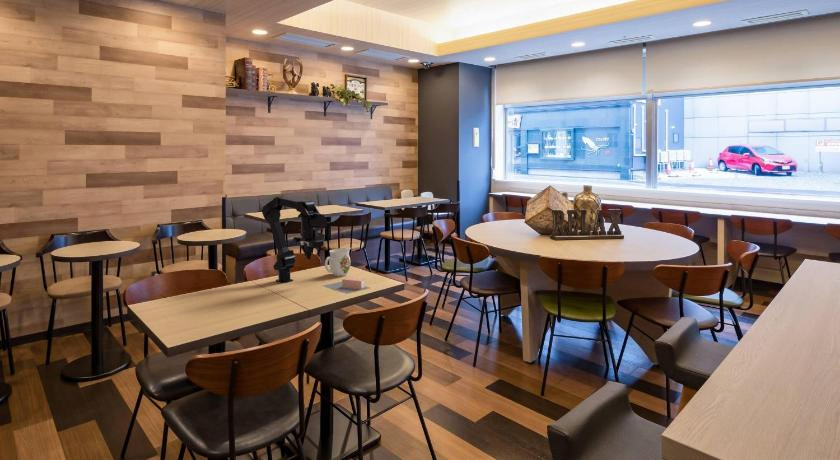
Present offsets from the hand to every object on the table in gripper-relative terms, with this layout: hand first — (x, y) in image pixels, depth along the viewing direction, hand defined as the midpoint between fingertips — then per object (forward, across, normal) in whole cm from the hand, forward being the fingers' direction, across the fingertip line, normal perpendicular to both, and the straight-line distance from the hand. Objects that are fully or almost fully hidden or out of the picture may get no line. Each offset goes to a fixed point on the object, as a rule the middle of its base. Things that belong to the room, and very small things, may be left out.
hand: (308, 259), depth 244 cm
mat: (+13, -16, -10) cm, 23 cm away
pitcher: (+13, +7, -22) cm, 27 cm away
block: (+11, -15, -10) cm, 21 cm away
